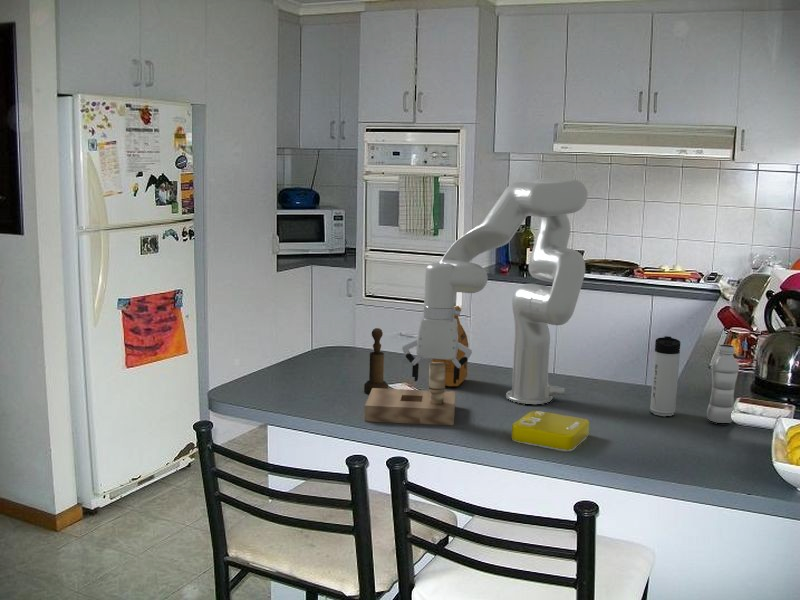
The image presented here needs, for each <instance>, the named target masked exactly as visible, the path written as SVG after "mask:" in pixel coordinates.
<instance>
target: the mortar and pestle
mask: <svg viewBox="0 0 800 600" xmlns="http://www.w3.org/2000/svg"><path fill="white" fill-rule="evenodd" d="M371 337H372V338H373V340H374V342H373V344H372V348H373V351H369V375H368V380H367V381H366V382H364V385H363V386H364V387H363V392H364V393H365V394H366V395H370V392H371V390H372V388H384V389H389V384H388V383H387V382H386V381H385V380H384V368H385V367H384V366H385V365H384V364H385V352H382V351H381V348H382V343H380V341H381V339H382V337H383V330H382V329H381V328H378V327H376V328H373V329H372V331H371Z"/></svg>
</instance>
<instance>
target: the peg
mask: <svg viewBox="0 0 800 600" xmlns="http://www.w3.org/2000/svg"><path fill="white" fill-rule="evenodd" d="M428 368H429V369H428V371H429V372H428V390H429V392H430V403H431V404H434V405H440V404H443V401H444V392H445V391H446V386H445V363H442V362H432V361H431V362H429V365H428Z"/></svg>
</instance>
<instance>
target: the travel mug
mask: <svg viewBox="0 0 800 600" xmlns="http://www.w3.org/2000/svg"><path fill="white" fill-rule="evenodd" d="M654 343H655V345H654V347H655V348H654V354H653V367H652V368H653V369H652V377H651V378H652V379H651V380H652V382H651V392H650V393H651V395H650V405H649V406H650V407H649V411H650V410H651V411H653V412H655V413H659V414H672V413H675V414H676V404H677V393H678V384H679V383H678V380H679V369H680V368H679V367H680V357H681V356H680V354H681V349H680V348H681V341H680V340H679V339H677V338H674V337H673V338H672V336H667V335H665V336H664V337H663V336H662V337H658V338H656V339H655V342H654Z"/></svg>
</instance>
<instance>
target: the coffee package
mask: <svg viewBox="0 0 800 600" xmlns="http://www.w3.org/2000/svg"><path fill="white" fill-rule="evenodd" d="M455 308H456V309H457V310H460V313H461V312H462V309H461V307H460V306H459V305H456V306H455V307H454V309H455ZM454 319H457V324H458V342H459V343H461V344H462V345H464V346H466V347H468V348H469V341H468V335H467V333H466V331H465V328H464V327H463V325H462V324H461V322H460V318H459V315H457V316H455V317H454ZM464 355H465V352H463V351H461V350H460V349H458V352H457V358H458V359H459V360H460V359H461V358H462V357H464ZM432 362H442V363H445V387H458V386H460V385H461V384H462V383H463V382H464V381H465V380H466V378H468V364H469V359H468V360H467V362H466V363H464V364H463V365H462V366H461V367H460V373H459V380H456V384H454V383H453V379H454V366H455V364H454V363H453V362H452V360H437V359H431V363H432Z"/></svg>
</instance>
